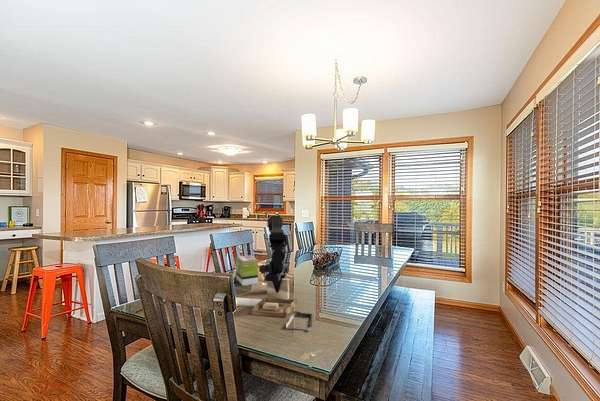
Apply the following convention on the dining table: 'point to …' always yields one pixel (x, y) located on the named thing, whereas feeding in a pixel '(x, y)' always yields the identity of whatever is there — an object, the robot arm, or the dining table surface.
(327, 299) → the dining table surface
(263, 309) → the offcut middle
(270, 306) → the offcut top
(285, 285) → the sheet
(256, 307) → the rack
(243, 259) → the tea box
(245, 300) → the mat
